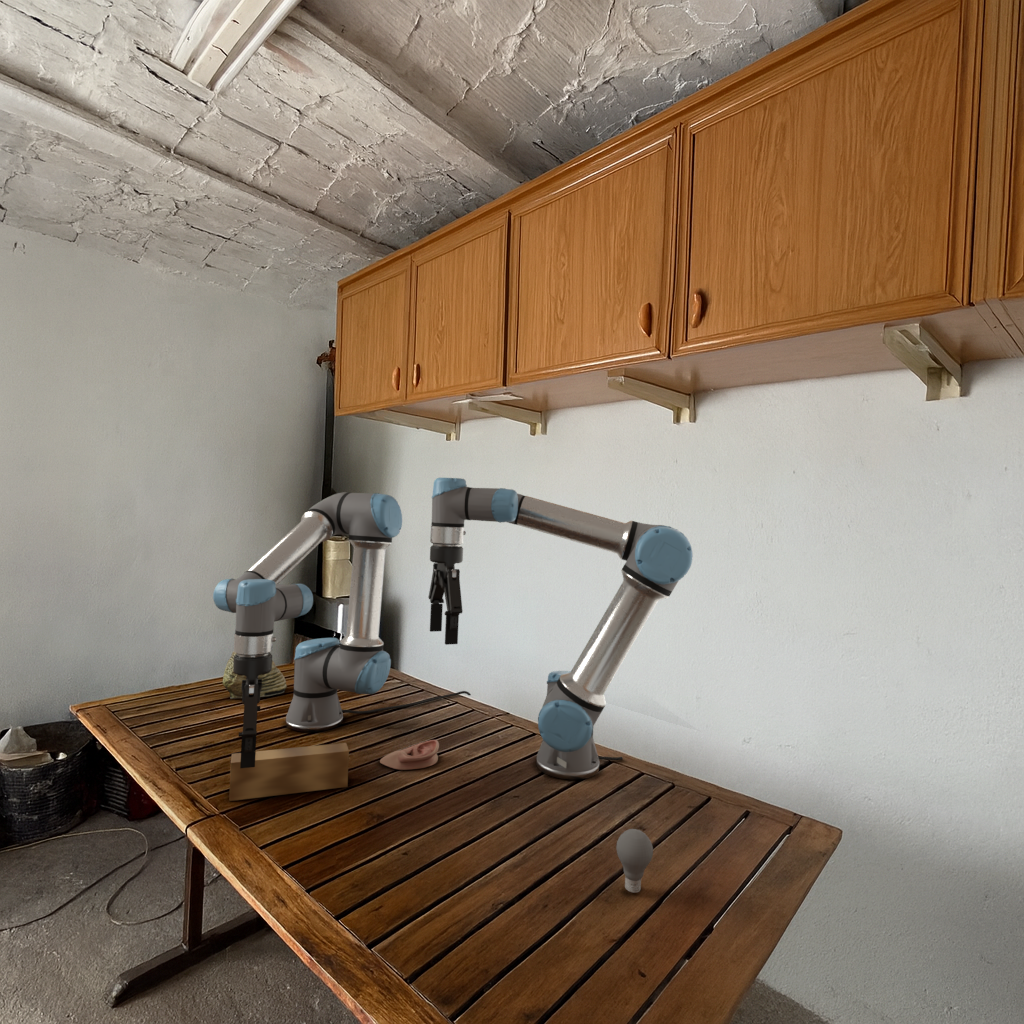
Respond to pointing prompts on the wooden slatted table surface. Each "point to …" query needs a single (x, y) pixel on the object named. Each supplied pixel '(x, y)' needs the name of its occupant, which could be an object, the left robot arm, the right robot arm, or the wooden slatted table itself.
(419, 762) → the anatomical model
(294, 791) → the bar
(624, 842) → the light bulb
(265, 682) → the fossil
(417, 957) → the wooden slatted table surface
